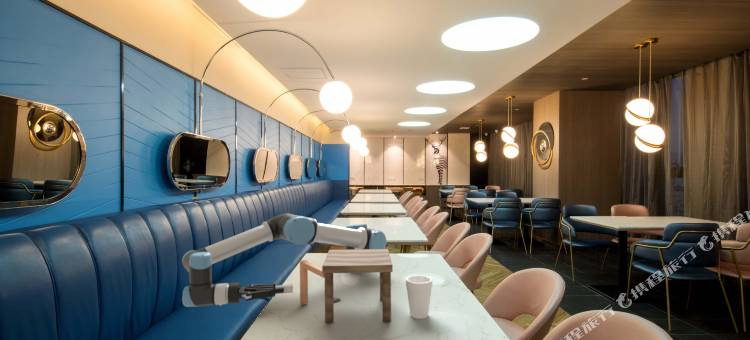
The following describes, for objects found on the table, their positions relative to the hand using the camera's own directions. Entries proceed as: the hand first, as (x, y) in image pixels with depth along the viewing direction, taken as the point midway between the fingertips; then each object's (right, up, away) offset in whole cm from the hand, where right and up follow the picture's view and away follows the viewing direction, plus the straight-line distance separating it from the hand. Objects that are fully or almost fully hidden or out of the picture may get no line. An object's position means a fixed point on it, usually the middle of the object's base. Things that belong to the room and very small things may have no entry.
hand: (292, 288), depth 140 cm
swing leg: (+9, -6, -6) cm, 13 cm away
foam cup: (+48, -6, -11) cm, 50 cm away
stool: (+26, -6, -5) cm, 27 cm away
